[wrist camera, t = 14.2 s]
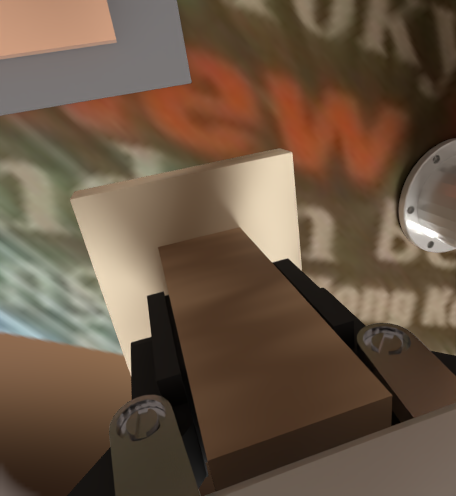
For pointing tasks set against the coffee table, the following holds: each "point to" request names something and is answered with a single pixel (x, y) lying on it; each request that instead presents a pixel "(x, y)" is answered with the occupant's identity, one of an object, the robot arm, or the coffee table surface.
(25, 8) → the tile
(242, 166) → the square post stand
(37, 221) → the coffee table surface
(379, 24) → the coffee table surface
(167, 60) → the mat
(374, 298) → the coffee table surface
